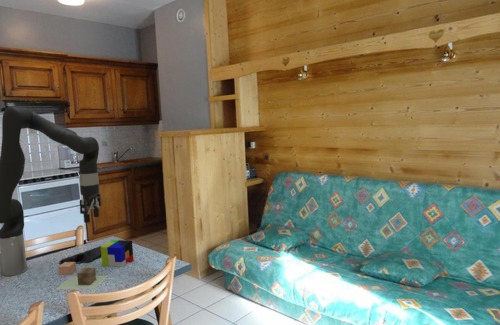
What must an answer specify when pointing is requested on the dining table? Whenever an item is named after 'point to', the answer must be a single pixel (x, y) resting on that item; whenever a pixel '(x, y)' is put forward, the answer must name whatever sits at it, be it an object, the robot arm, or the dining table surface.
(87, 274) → the walnut block
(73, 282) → the build board
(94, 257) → the dark slate chunk
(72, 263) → the terracotta block
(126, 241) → the puzzle toy
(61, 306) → the dining table surface
